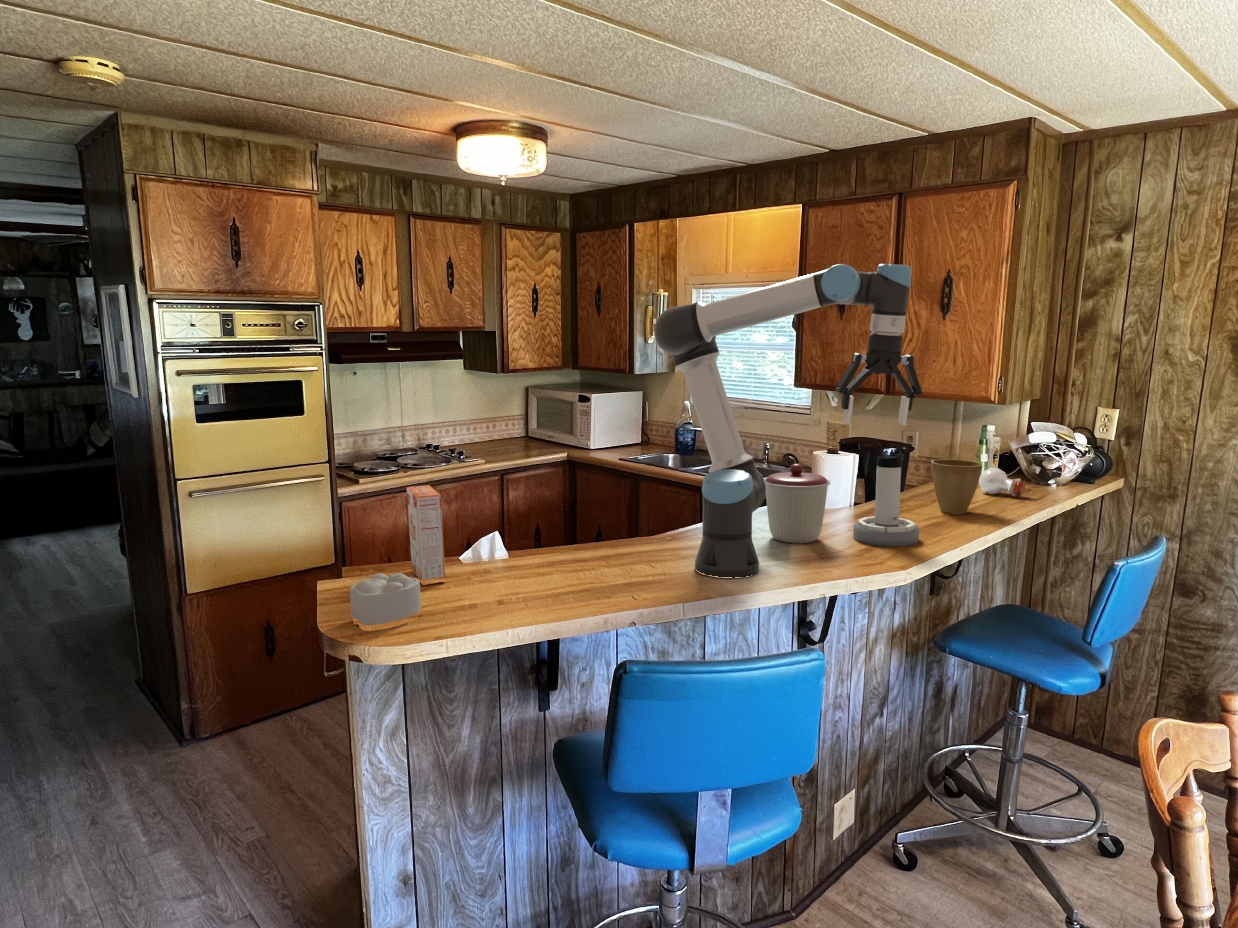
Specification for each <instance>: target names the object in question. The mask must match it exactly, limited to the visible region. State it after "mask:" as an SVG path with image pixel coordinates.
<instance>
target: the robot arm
mask: <svg viewBox="0 0 1238 928" xmlns="http://www.w3.org/2000/svg"><path fill="white" fill-rule="evenodd" d="M912 274H913V270H912V267H911V266H910V265H908V264H893V263H892V264H889V263H880V264H878V266H877V269H876V270H875V271H873V272H872V271H870V272H869V271H858V270H856V269H855V268H854V267H853V266H851V265H849V264H843V263H838V264H835V265H832V266H830V267H829V268H827V269H824V270H821V271H817V272H814V273H811V274H807V275H803V276H799V277H796V278H793V279H789V280H786V281H782V282H779V283H775V284H772V285H769V286H765V287H762V288H758V289H755V290H751V291H748V292H744V293H741V294H737V295H733V296H730V297H727V298H723V299H719V300H716V301H712V302H709V303H704V302H702V301H695V302H693V303H688V304H684V305H677V306H672V307H669V308H667V309H665V310H664V311H663V312H661V313H660V315H659V316H658V317H657V319H656V320H655V324H654V328H653V331H654V339H655V341H656V343H657V345H658V347H660V349H661V350H663V352H664V353H667V354H669V355H670V356H671V358H672V362H673V364H674V368H675V369H676V370H679V371H680V372H682V373H683V376H684V379H685V382H686V385H687V389H688V392H689V395H690V398H691V402H692V404H693V407H694V410H695V413H696V417H697V419H698V422H699V426H700V429H701V433H702V435H703V438H704V441H705V444H706V447H707V451H708V454H709V457H710V460H711V464H710V467H709V469H708V473H707V474H706V475H705V476H704V477H703V479H702V486H701V495H702V499H701V501H702V502H701V504H702V518H701V520H702V523H701V525H702V538H701V542H700V543H699V544H700V545H699V547H698V551H697V554H696V557H695V559H694V560H695V561H694V570H695V569H696V570H697V571H699V572H701V573H704V574H706V575H712V576H718V577H732V578H735V577H745V578H747V577H746V576H750V577H752V576H751V575H753V576H755V575H757V574H758V573H759V572H760V569H759V568H760V561H759V557H758V554H757V552H756V549H755V546H754V542H753V513H754V512H756V511H757V510H758V509H759V508H760V507H761V506H762V505H763V502H764V500H765V498H766V484H765V481H764V479H765V478H764V477H763V475H762V473H761V472H759V471H758V468H757V466H756V462H755V459H754V457H753V455H751V454H748V453H747V452H746V451H745V448H744V446H743V443H742V440H741V436H740V433H739V430H738V426H737V424H736V419H735V417H734V414H733V411H732V407H731V405H730V401H729V399H728V396H727V392H726V389H725V385H724V382H723V379H722V377H721V374H720V371H719V368H718V365H717V360H718V358H719V356H720V351H719V348H718V344H717V341H716V338H717V336H719V335H724V334H728V333H731V332H735V331H740V330H742V329H746V328H749V327H752V326H753V327H754V326H757V325H760V324H761V325H762V324H764V323H768V322H772V321H775V320H779V319H782V318H787V317H790V316H794V315H796V314H797V315H798V314H801V313H804V312H809V311H811V310H815V309H819V308H822V307H827V306H831V305H853V306H867V307H868V306H872V310H871V319H870V325H869V330H870V331H871V332H870V333H869V334H868V341H867V350H866V353H865V354H861V353H858V352H854V353H853V355H852V357H851V358H852V359H851V362H850V363H849V366H848V367H847V369H846V371H844V373H843V375H842V377H841V378H840V380H839V381H838V383H837V384H836V387H835V392H837V393H839V394H841V395H842V398H841V406H840V407H841V409H842V410H844V411H843V419H842V422H843V423H845V424H846V425H851V421H852V414H853V405H854V399H855V397H854V396H853V393H854V392H855V391H856V390H858V388H859V387H860V386H861V385H862V384H863V383H864V382H865V381H866V380H867V379H868V378H869V377H870V376H872V375H873V374H876V375H882V374H883V375H884V374H885V375H891V376H892V377H893V379H894V380H895V382H896V383H897V385H898V386H899V388H900V389H901V390H902V392H903V394H904V395H901V397H900V404H899V412H898V417H897V423H898V424H899V425H901V426H906V425H907V418H908V414H909V412H910V411H912V408H913V401H914V399H915V398H916V397H917V396H922V395H923V391H922V388H921V385H920V381H919V379H918V375H917V372H916V368H915V365H914V360H915V357H914V356H913V355H912V354H911V355H910V354H907V353H905V355H902V354H901V353H902V348H903V341H904V336H903V335H902V334H904V332H905V326H906V319H907V314H908V313H907V312H908V306H909V300H910V299H909V298H910V294H911V283H912V276H913V275H912ZM864 361H865V363H866V365H865V366H864V367H863V368H862V369H861V371H860V372H859V373H858V374H857V375H856V376H855V374H856V373H857V371H858V370H859V368H860V366H861V364H863V362H864ZM900 364H902V365H903V366H904V370H905V373H906V376H907V379H908V382H909V384H908V382H907V381H906V379H905V378H904V376H903V374H902V372H901V371H900V368H899V367H898V366H899V365H900ZM854 376H855V378H854ZM696 570H695V571H696Z"/></svg>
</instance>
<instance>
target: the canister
mask: <svg viewBox="0 0 1238 928" xmlns="http://www.w3.org/2000/svg"><path fill="white" fill-rule="evenodd" d="M764 481H765V484H766V494H765V498H766V509H767V511H766V512H767V518H768V526H769V531H770V534H771V536H772V537H773V539H775V540H777V541H780V542H783V543H790V544H806V543H807V544H808V543H812V542H815V541H816V540H818V539H819V537H820V536H821V533H822V529H823V524H824V523H823V522H824V518H825V517H824V516H825V510H826V502H827V501H826V500H827V495H828V487H829V486H830V484H831V480H829V479H827V478H826V477H825V476H823V475H821V474H818V473H811V472H804V466H803V465H802V464H800V463H794V464H792V465H790V467H789V471H787V472H786V471H785V472H776V473H772V474H770V475H768V476H767V477H765V478H764Z"/></svg>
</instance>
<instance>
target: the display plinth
mask: <svg viewBox="0 0 1238 928" xmlns="http://www.w3.org/2000/svg"><path fill="white" fill-rule="evenodd" d="M852 534H853V537H852V538H853V539H854V541H858V542H860V543H863V544H866V545H871V546H880V547H889V548H890V547H891V548H892V547H898V546H900V547H908V546H909V547H910V546H913V545H917V544H918V543H919V540H920V527H919V526H918V525H916V523H915V522H914V521H912V520H910V519H906V518H901V517H899V527H881V526H875V516H868V517H867V516H864V517H862V518H859V519H857V521H856V522H854V523H853V533H852Z"/></svg>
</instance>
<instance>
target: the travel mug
mask: <svg viewBox="0 0 1238 928" xmlns="http://www.w3.org/2000/svg"><path fill="white" fill-rule="evenodd" d="M902 458H904V455H903V454H902V453H898V454H886V455H885V454H883V455H879V456H877V458H876V463H877V464H876V474H875V475H876V477H875V479H876V480H875V481H876V483H875V502H874V503H875V505H874V506H875V508H874V511H875V512H874V517H875V526H881V527H899V518H900V509H901V508H900V505H901V504H900V503H901V501H900V500H901V482H902V481H901V479H902Z"/></svg>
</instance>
